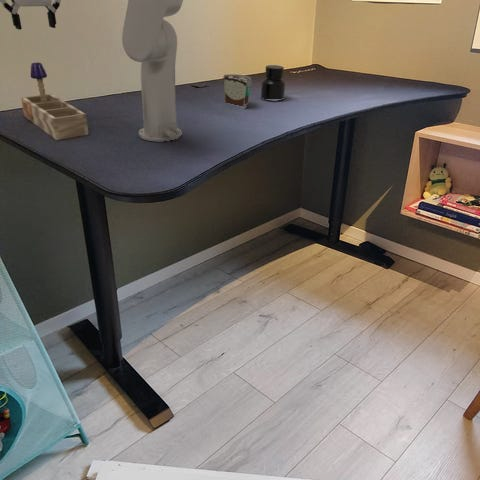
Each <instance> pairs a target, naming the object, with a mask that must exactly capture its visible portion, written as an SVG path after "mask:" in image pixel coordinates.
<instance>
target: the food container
mask: <svg viewBox="0 0 480 480" xmlns="http://www.w3.org/2000/svg"><path fill="white" fill-rule="evenodd" d="M222 77H223V79H222V81H223V88H224V90H223V91H224V104H226V103H230V104H234V105H239V106H243V107H245V106H247V107H248V102H249V97H250V90H251V89H250V88H251V86H253V80H252V79H251V77H250V76H248V75H242V74H232V73H230V74H229V73H228V74H223V76H222Z"/></svg>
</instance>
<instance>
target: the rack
mask: <svg viewBox="0 0 480 480" xmlns="http://www.w3.org/2000/svg"><path fill="white" fill-rule="evenodd" d="M20 99H21V105H22V111H23V115H24V117H25V119H27V120H29V121H30V122H31V123H33V124H34V125H35V126H37V127H38V128H40V129H41V130H42V131H43V132H45V133H46V134H48V135H49V136H50V137H51V138H53V139H54V140H55V141H59V140H65V139H71V138H75V137H82V136H87V135H89V128H88V127H89V126H88V118H87V113H85V112H83V111H81V110H80V109H78V108H77V107H74V106H73V105H71V104H70V103H68V102H66V101H65V100H63V99H61V98H59V96H58V97H57V96H56V95H54V94H53V93H47V94H46V99H47V102H41V97H40V94H39V95H32V96H23V97H21V98H20Z"/></svg>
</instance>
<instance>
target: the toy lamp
mask: <svg viewBox="0 0 480 480" xmlns="http://www.w3.org/2000/svg"><path fill="white" fill-rule="evenodd" d="M47 77H48V74H47V71H46V70H45V68H44V66H43V63H41V62H31V64H30V78H31V79H34V80H35V79H36V82H37V87H38V92H39V95H40V97H41V102H47V99H46V95H47V94H46V89H45V84H44V79H45V78H47Z"/></svg>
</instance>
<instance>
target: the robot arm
mask: <svg viewBox="0 0 480 480" xmlns="http://www.w3.org/2000/svg"><path fill="white" fill-rule="evenodd" d="M10 1H11V3H12V4H11V5H10V4H9V3H8V2H7V0H0V4H1V5H2V7H3V8H4V9H6V10H7V11H8V12H9V13H10V15H11V20H12V25H13V26H14V27H15V29H17V30H19V31H20V30H22V23H21V22H22V21H21V17H20V14H19V13H18V11H19V10H20V8H21V7H45V9H46V10H47V14H46V15H47V19H48V27H50V28H52V29H55V28H57V27H56V25H57V19H56V13H57V10H58V8H59V7H60V6H61V1H62V0H54V1H53V0H10ZM52 2H53V3H52ZM183 3H184V0H128V2H127V7H126V10H125V11H126V13H125V18H124V22H123V28H122V35H121V42H122V48H123V50H124V52H125V55H127V57H129V59H131V60H132V61H134V62H137V63H141V64H140V87H141V104H142V117H143V127H142V128H140V129H139V130H138V136H139V138H140V139H142V140H145V141H149V142H156V143H157V142H158V143H163V142H164V141H167V142H171V141H170V140H173V141H175V140H174V139H176V138H178V139H180V138H181V137H182V136H183V135H182V133H183V132H182V130H181V128H178V122H177V105H176V104H177V103H176V100H177V99H176V60H177V50H178V38H177V37H178V36H177V33H176V30H175V28H174V27H173V25H172V24H171V23H170V22H169V21H168V20H165V19H164V18H167V17H171V16H173V15H176V14H177V13H179V11H181V8H182V7H183V6H182V5H183ZM181 135H182V136H181ZM180 136H181V137H180ZM179 137H180V138H179ZM176 140H177V139H176Z"/></svg>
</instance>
